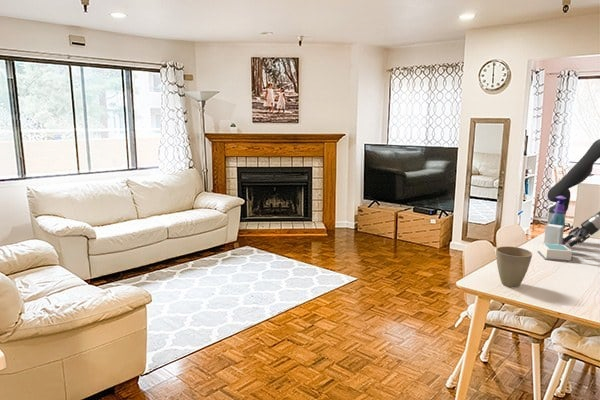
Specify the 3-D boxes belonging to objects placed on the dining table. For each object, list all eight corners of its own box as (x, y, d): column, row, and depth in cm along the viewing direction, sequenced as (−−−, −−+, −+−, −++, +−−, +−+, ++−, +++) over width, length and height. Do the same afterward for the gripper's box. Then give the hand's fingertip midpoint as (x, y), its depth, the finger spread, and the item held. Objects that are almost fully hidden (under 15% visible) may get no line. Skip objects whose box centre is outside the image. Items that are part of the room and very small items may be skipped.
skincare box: (561, 251, 256) (565, 225, 253) (558, 253, 252) (561, 227, 249) (545, 247, 262) (549, 223, 259) (542, 249, 258) (545, 224, 255)
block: (563, 253, 249) (539, 251, 252) (564, 244, 248) (540, 242, 251) (570, 260, 238) (546, 258, 241) (572, 251, 237) (547, 249, 240)
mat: (537, 252, 253) (537, 251, 253) (559, 253, 251) (559, 252, 251) (545, 259, 240) (545, 258, 240) (568, 261, 238) (568, 260, 237)
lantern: (549, 240, 276) (555, 193, 270) (569, 245, 267) (576, 196, 261) (539, 244, 268) (546, 195, 262) (560, 249, 259) (567, 198, 253)
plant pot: (497, 276, 215) (501, 244, 211) (531, 284, 205) (536, 250, 202) (488, 285, 203) (491, 251, 200) (523, 293, 194) (527, 258, 191)
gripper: (583, 216, 245) (557, 234, 249) (594, 222, 231) (566, 242, 236) (592, 226, 245) (566, 244, 249) (604, 233, 231) (576, 252, 236)
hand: (566, 243), depth 243 cm, fingers open, 8 cm apart
